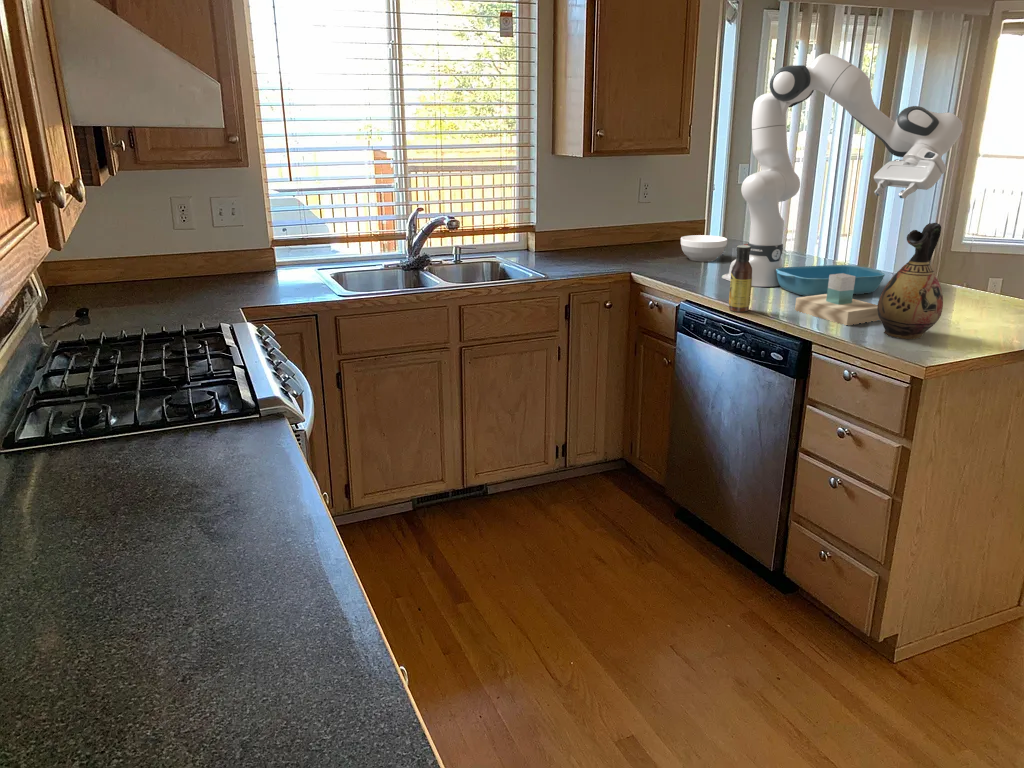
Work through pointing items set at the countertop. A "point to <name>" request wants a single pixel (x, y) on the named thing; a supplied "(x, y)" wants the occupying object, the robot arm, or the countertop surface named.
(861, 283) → the casserole dish
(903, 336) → the ceramic jug
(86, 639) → the countertop surface
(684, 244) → the bowl
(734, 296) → the sauce bottle
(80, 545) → the countertop surface
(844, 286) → the white and teal block
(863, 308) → the wooden block
